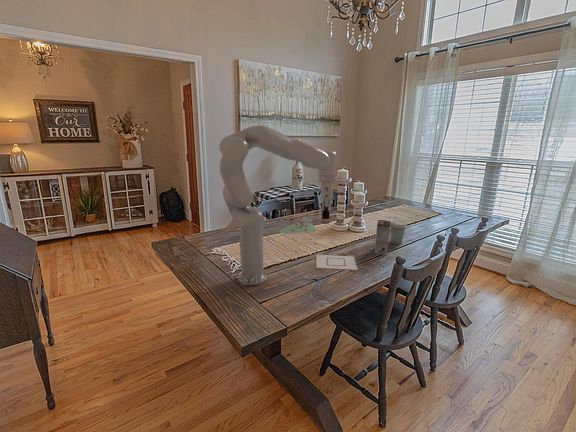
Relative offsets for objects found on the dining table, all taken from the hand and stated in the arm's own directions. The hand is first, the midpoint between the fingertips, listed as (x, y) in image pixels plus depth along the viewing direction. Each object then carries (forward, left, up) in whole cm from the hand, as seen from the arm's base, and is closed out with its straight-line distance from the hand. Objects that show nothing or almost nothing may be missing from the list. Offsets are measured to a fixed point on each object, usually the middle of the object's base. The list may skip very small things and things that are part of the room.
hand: (325, 216), depth 143 cm
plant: (+49, +16, -24) cm, 57 cm away
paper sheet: (0, -6, -23) cm, 24 cm away
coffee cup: (+31, -42, -23) cm, 57 cm away
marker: (0, 0, -3) cm, 3 cm away
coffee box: (+17, -31, -23) cm, 42 cm away
